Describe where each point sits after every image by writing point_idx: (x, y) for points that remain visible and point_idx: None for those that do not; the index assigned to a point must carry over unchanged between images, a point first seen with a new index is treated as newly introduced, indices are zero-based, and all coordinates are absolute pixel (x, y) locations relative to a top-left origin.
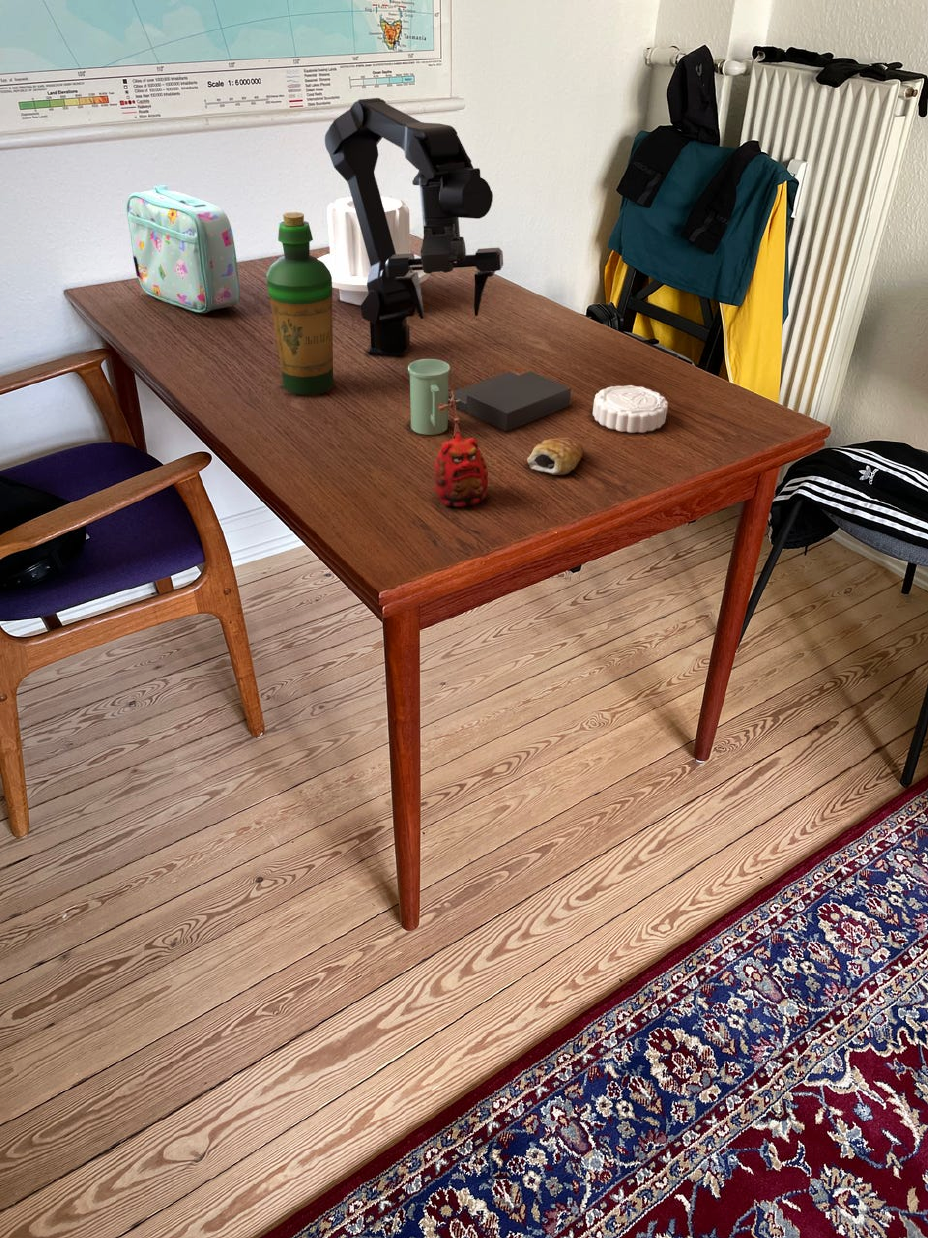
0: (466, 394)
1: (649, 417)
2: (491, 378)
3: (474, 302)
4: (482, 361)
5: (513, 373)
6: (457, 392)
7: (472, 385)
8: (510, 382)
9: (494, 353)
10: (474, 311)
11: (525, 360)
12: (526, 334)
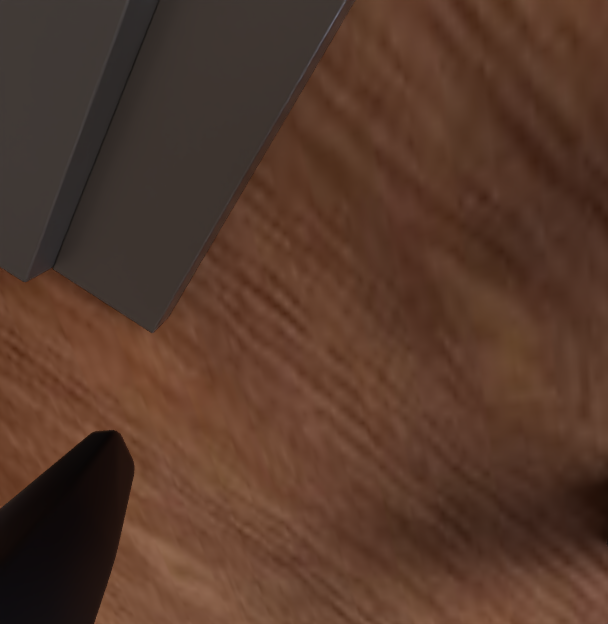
0: (246, 10)
1: None
2: (192, 246)
3: (22, 534)
4: (303, 446)
5: (129, 313)
6: (299, 24)
7: (249, 144)
8: (38, 124)
9: (280, 504)
10: (95, 457)
11: (170, 466)
12: (227, 615)
